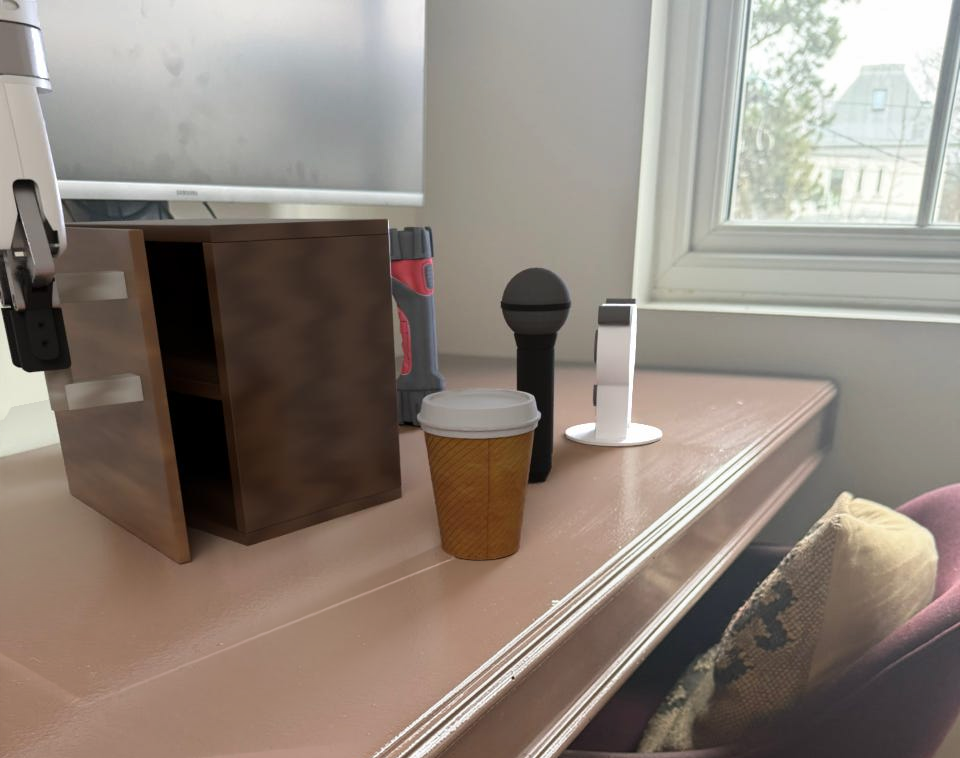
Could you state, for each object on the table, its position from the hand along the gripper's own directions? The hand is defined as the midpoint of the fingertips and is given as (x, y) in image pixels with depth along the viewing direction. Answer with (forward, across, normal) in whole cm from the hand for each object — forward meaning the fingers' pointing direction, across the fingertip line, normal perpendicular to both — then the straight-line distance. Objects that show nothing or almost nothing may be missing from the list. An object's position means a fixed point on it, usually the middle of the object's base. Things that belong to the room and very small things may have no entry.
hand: (42, 365), depth 68 cm
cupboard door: (+15, -10, +3) cm, 19 cm away
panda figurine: (+16, -10, +64) cm, 67 cm away
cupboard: (+16, -13, +18) cm, 27 cm away
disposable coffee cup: (+16, +14, +28) cm, 35 cm away
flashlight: (+16, -32, +50) cm, 61 cm away
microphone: (+16, 0, +44) cm, 47 cm away
